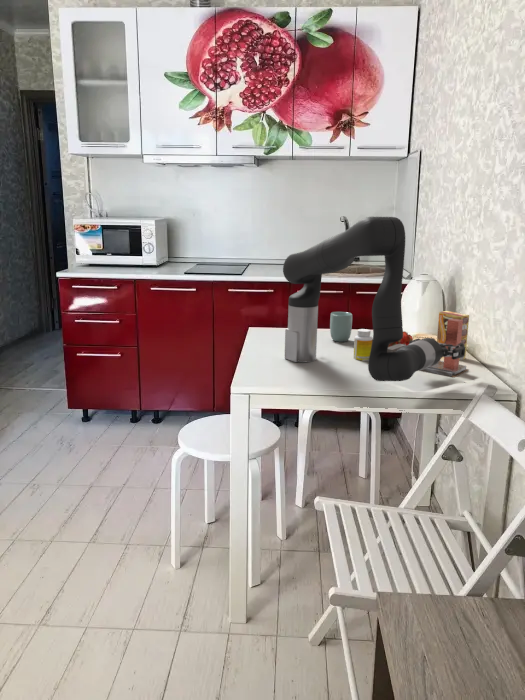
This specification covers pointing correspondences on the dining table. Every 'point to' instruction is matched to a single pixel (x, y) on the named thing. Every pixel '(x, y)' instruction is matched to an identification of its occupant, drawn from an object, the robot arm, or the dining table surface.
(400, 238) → the robot arm
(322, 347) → the dining table surface
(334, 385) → the dining table surface
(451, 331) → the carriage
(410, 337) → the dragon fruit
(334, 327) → the cup
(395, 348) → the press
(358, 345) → the supplement bottle
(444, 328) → the candy box
